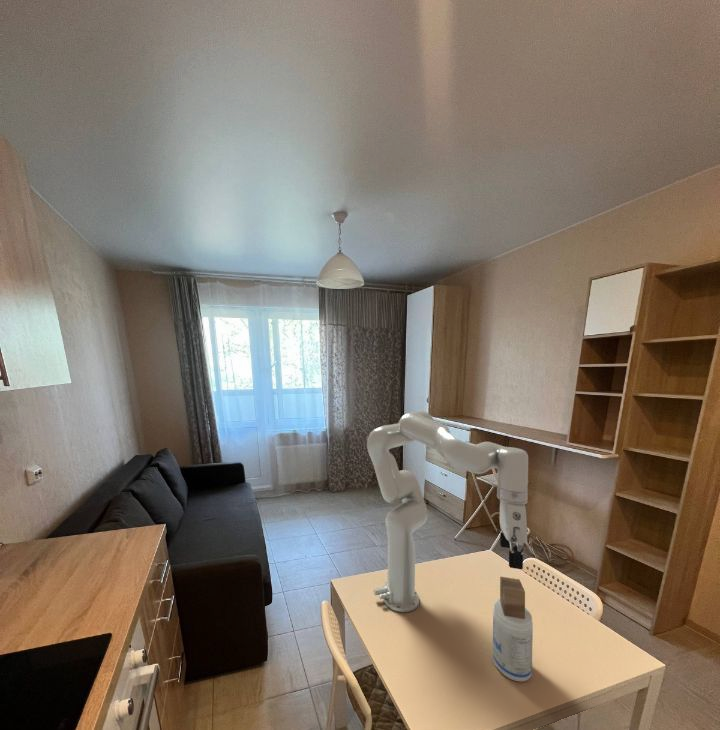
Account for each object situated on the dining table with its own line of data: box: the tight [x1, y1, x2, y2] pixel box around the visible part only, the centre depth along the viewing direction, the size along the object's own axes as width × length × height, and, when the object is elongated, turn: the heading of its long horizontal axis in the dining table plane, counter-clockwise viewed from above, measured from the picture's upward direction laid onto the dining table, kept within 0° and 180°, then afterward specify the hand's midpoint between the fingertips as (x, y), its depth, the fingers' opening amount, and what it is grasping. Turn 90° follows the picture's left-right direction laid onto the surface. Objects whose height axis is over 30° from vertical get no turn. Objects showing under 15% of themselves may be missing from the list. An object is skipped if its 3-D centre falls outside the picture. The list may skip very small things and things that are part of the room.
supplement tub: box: [492, 599, 534, 683], centre depth 82 cm, size 10×10×15 cm
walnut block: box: [499, 576, 526, 619], centre depth 83 cm, size 5×5×7 cm
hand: (510, 556), depth 84 cm, fingers open, 9 cm apart
